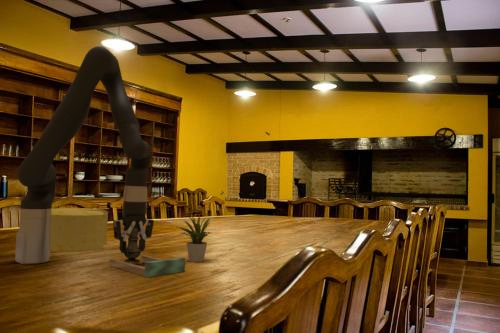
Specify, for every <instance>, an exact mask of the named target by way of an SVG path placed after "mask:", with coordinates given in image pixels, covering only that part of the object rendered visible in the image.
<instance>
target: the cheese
mask: <svg viewBox="0 0 500 333" xmlns="http://www.w3.org/2000/svg"><path fill="white" fill-rule="evenodd" d="M108 218H109V212H108V211H107V210H106V209H102V208H101V209H100V208H89V207H88V208H87V207H86V208H83V207H82V208H81V207H68V208H67V207H65V208H64V207H62V208H61V207H60V208H52V213H51V233H50V252H55V253H57V252H59V253H76V252H91V251H98V250H99V251H100V250H103V249H104V246H105V245H106V244H107V240H108V224H109V223H108Z"/></svg>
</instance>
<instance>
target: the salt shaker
mask: <svg viewBox="0 0 500 333" xmlns="http://www.w3.org/2000/svg"><path fill="white" fill-rule="evenodd" d="M139 240H140V238H139V235H138V229H134V230H133V231H132V232H131V233H130V235H129V236H128V238H127V246H126V253H123V255H124V257H125V258H126V259H124V260H123V261H124V262H127V263H131V264H137V263H141V260H140V259H138V258H139V257H140V256H141V252H143V251H142V250H140V249H139V248H138V247H139Z"/></svg>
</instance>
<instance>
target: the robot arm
mask: <svg viewBox="0 0 500 333" xmlns="http://www.w3.org/2000/svg"><path fill="white" fill-rule="evenodd" d="M100 82H101V83H102V85H103V87H104V89H105V91H106V94H107V97H108V102H109V107H110V111H111V115H112V118H113V121H114V123H115V125H116V128H117V131H118V132H119V138H120V142H121V143H120V144H121V146H122V147H121V148H122V150H123V152H124V154H125V156H126V157H127V158H128V159H130V163H129V168H127V169H126V171H125V177H124V178H125V180H124V181H125V182H124V190H123V196H122V198H123V201H122V218H121V219H120V220H113V221H112V225H113V227H112V228H113V237H114V239H115V240H118V241H119V247H118V248H119V249H118V250H119V251H120V253H121V254H124V253H126V248H127V246H128V239H127V238H129V235H130V233H131V232H132V231H133V230H134V229H138V238H139V239H138V248H139V249H140V250H142V251H141V252H144V250H146V241H147V239H149V238H152V233H153V229H154V224H155V221H154V219H151V218H150V219H149V218H146V215H147V211H148V210H147V207H148V172H149V168H150V164H151V160H152V148H151V145H150V144H149V142H147V141H145V140H143V138H142V136H141V133H140V129H141V128H140V123H139V120H138V118H137V116H136V113H135V110H134V108H133V105H132V104H131V100H130V99H129V96H128V93H127V91H126V88H125V84H124V80H123V76H122V71H121V67H120V64H119V60H118V58H117V56H115V54H113V53H112V51H110V50H109V49H107V48H106V47H105V46H101V45H98V46H97V45H96V46H94V47H92V48H91V49H88V51H87V52H86V54H85V55H84V57H83V60H82V62H81V64H80V67H79V69H78V70H77V73H76V75H75V77H74V80H73V81H72V82H71V84H70V86H69V88H68V89H67V92H66V93H65V95H64V96H63V98H62V100H61V102H60V103H59V104H58V106H57V107H56V110H55V111H54V113H53V114H52V115H51V119H49V122H48V123H47V125H46V126H45V128H44V129H43V132H42V133H41V135H40V137H39V139H38V141H37V142H36V143H35V144H34V147H33V148H32V149H31V151H30V152H29V153H28V154H27V155H26V157H25V158H24V160H23V161H22V162H21V164H20V166H19V168H18V170H17V178H18V181H19V183H20V184H21V185H22V186H24V187H26V188H27V190H26V193H25V195H24V197H23V198H22V199H21V201H20V209H19V224H18V225H19V226H18V228H19V229H18V231H16V238H15V254H14V255H15V256H14V259H15V260H14V261H15V262H16V263H18V264H22V265H26V264H27V265H28V264H40V263H41V264H42V263H47V262H49V261H50V254H51V253H50V252H51V251H50V233H51V213H52V209H53V203H54V201H55V197H56V188H57V187H56V186H57V170H56V167H55V166H54V164H53V163H54V160H55V158H56V157H57V155H58V154H59V153H60V152H61V150H62V149H63V148H64V147H65V146H66V145H68V143H70V142H71V141H72V139H74V138H75V136H76V135H77V134H78V133H79V132H80V130H81V128H83V125H84V123H85V121H86V120H87V118H88V115H89V112H90V108H91V103H92V98H93V94H94V91H95V89H96V87H97V86H98V84H99V83H100ZM122 226H123V228H122Z"/></svg>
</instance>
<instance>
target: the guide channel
mask: <svg viewBox="0 0 500 333" xmlns="http://www.w3.org/2000/svg"><path fill="white" fill-rule="evenodd" d="M140 256H141V257H140V258H141V260H140V263H144V266H141V265H138V264H136V263H127V262H124V260H120V259H115V258H110V259H109V267H112V268H116V269H119V270H123V271H126V272H129V273H131V274H135V275H139V276H141V277H142V276H143V277H146V278H151V277H159V276H164V275H171V274H177V273H183V272H185V271H186V270H185V269H186V258H185V257H176V258H175V257H174V258H167V259H164V258H163V259H162V258H159V257H155V256H150V255H145V254H144V255H140Z"/></svg>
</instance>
